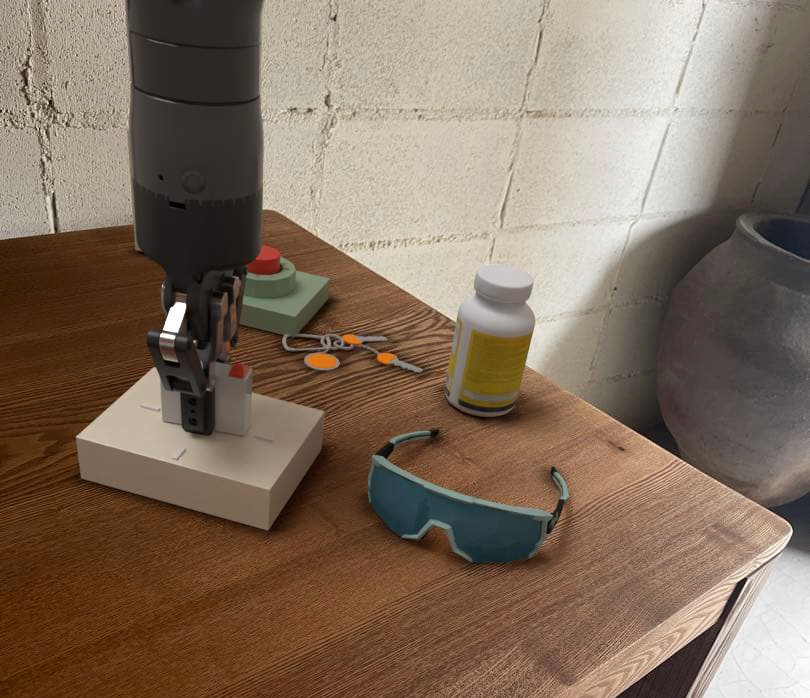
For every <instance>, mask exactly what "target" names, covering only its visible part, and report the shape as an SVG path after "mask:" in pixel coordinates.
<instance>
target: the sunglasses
mask: <svg viewBox="0 0 810 698" xmlns="http://www.w3.org/2000/svg"><path fill="white" fill-rule="evenodd" d="M440 432H441V430H440V429H439V428H435V429H430V430H417V431H413V432H412V431H411V432H407V433H403V434H399V435H397V436H394V437H391V438H390V440H389V441H388V442H387V443H386V444H384V445H383V446H382V447H381V448H380V449H378V451H376V452H375V454H371V462H370V466H369V470H368V476H367V482H368V483H367V484H368V488H367V498H368V504H370V506H371V507H372V510H373V511H374V512H375V513H376V514H377V516H378V517H379V518H380V519H381V520H382V522H383V523H384V524H385V525H386V526H387V527H388V528H389V530H392V532H393V533H395V534H397V535H398V536H399V537H400V538H401V539H407V540H408V539H409V540H418V541H419V540H423V539H424V538H425V537H426V536H427V535H428V534H429V533H430V531H431V530H432V529H433V528H437V529H440V530H442V531H443V532H445V534H446V537H447V539H448V542H449V545H450V548H451V551H452V552H453V553H454V554H457V555H458V556H460V557H461V558H463V559H464V560H466V561H468V563H471V564H472V563H474V564H478V563H479V564H507V563H511V562H516V561H520V560H524V559H528V560H529V559H531V558H532V557H533V556H534V555H535V554H536V553H537V552H538V551H539V550H541V548H542V545H543V543H544V542H545V541H547V540H548V536H549V535H551V533H552V532H553V530H554V529H555V527H556V525H557V523H558V522H559V520H560V518H561V514H562V513H563V509H564V506H565V505H566V503H567V501H568V499H569V497H570V496H569V490H568V484H567V483H566V481H565V480H564V478H563V476H562V475H561V474H560V473H559V471H557V467H556V466H551V467H550V473H549V474H550V476H551V478H552V480H553V481H554V482H555V484H556V485H557V487H558V488H559V491H560V494H561V496H560V497H559V498H558V501H557V504H556V507H555V509H554V510H553V512H547V511H545V510H542V509H540V508H532V507H524V506H516V505H510V504H505V503H499V502H494V501H490V500H487V499H481V498H478V497H474V496H471V495H467V494H463V493H460V492H457V491H454V490H451V489H448V488H445V487H442V486H439V485H436V483H432V482H430V481H427V480H424V479H422V478H420V477H418V476H416V475H414V474H413V473H410V472H409V471H406V470H405V469H402V468H401V467H399V466H397V465H395V464H394V463H392V462H391V461H389V460H387V459H388V458H389V457H390V455H391V454H393V452H394V450H395V449H396V448H397V447H398V446H401V445H403V444H406V443H410V442H413V441H420V440H425V439H432V438H437V437H438V434H439V433H440Z"/></svg>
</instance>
